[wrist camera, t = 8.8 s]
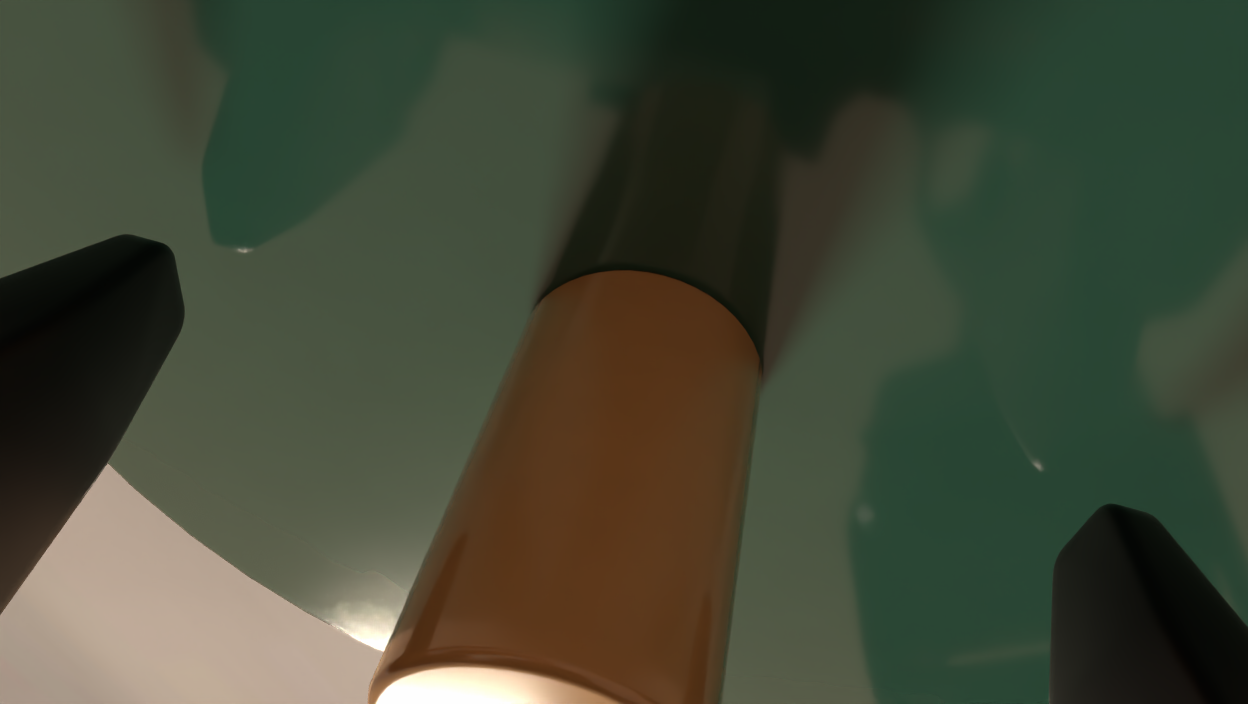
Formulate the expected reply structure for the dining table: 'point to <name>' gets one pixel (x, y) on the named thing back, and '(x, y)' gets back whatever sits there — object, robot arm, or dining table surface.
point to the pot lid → (666, 319)
